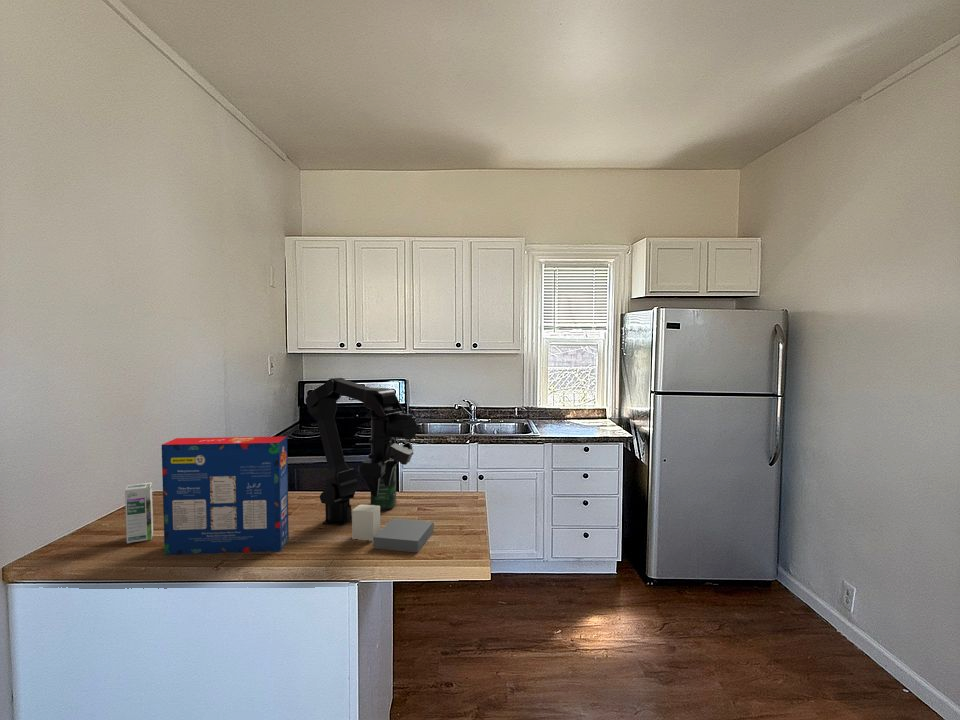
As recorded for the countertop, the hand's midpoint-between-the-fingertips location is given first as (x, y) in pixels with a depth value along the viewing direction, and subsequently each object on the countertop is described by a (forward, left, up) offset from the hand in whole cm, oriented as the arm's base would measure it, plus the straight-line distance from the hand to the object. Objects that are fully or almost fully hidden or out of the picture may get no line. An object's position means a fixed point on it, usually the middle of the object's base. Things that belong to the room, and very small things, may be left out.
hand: (381, 490), depth 145 cm
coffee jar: (-8, +23, -12) cm, 27 cm away
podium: (+8, -2, -12) cm, 15 cm away
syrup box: (-62, -16, -12) cm, 66 cm away
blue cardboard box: (-35, -16, -12) cm, 41 cm away
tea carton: (-3, -2, -12) cm, 13 cm away
